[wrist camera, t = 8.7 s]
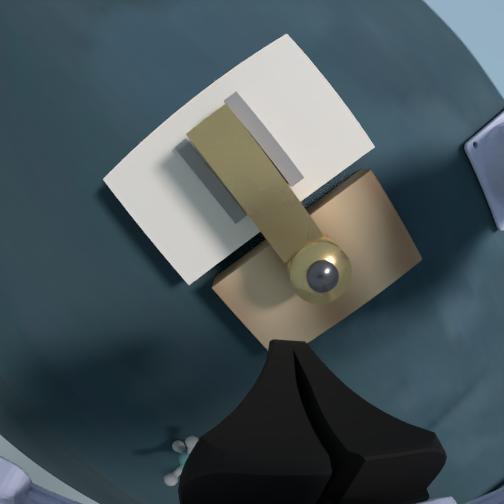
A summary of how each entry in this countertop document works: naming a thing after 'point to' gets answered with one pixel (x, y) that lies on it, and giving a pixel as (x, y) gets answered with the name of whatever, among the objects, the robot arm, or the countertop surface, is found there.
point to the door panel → (267, 137)
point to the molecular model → (180, 458)
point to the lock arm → (273, 207)
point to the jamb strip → (352, 244)
